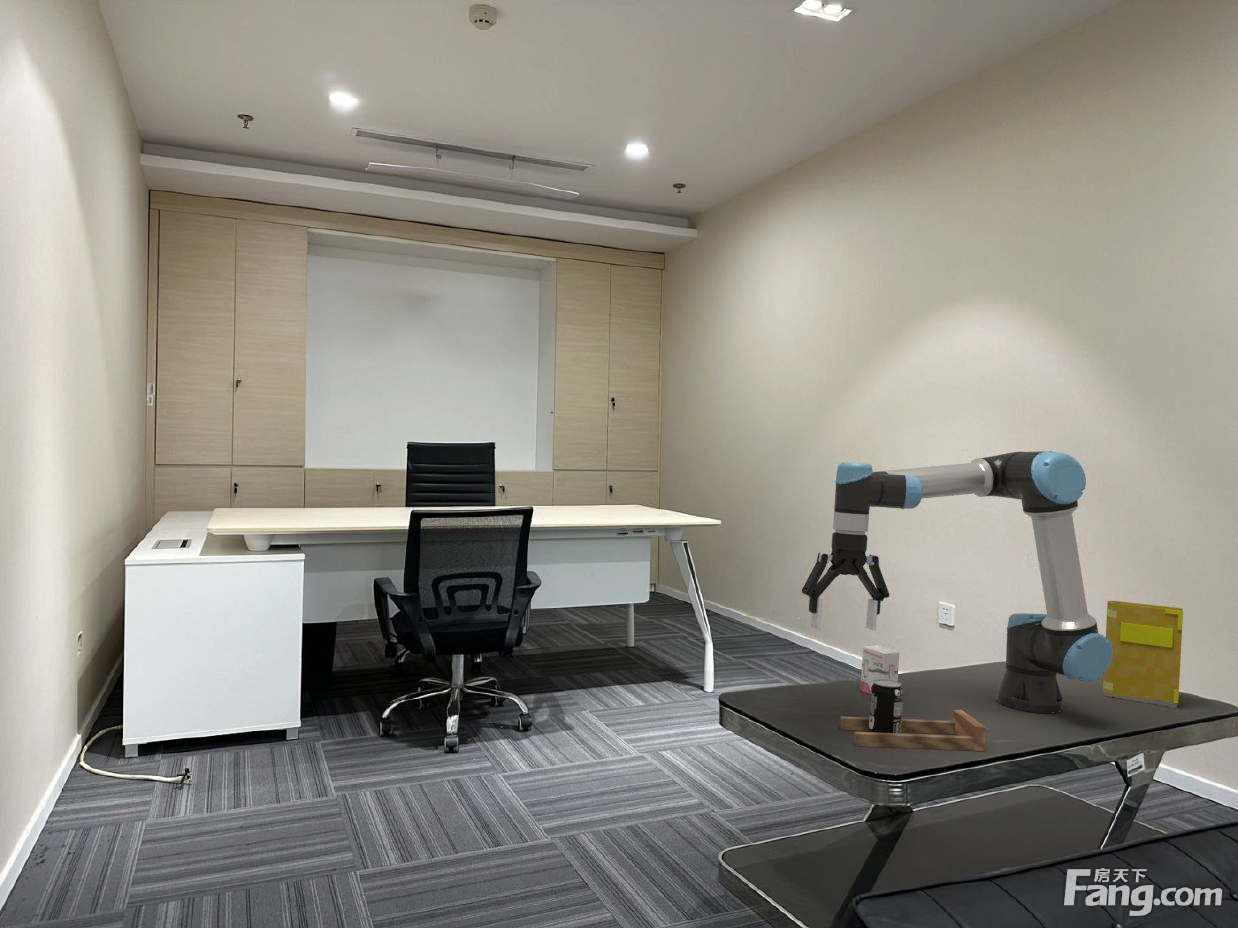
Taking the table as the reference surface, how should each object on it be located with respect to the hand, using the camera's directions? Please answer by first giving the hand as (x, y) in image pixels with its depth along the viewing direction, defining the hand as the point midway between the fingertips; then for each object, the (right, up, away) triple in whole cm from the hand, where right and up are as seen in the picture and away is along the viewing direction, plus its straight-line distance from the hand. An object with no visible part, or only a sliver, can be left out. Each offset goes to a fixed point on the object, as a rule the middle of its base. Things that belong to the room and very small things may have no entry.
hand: (843, 628), depth 189 cm
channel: (+13, -23, -5) cm, 27 cm away
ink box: (+17, -23, +30) cm, 42 cm away
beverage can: (+8, -23, -5) cm, 24 cm away
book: (+88, -26, +37) cm, 99 cm away
